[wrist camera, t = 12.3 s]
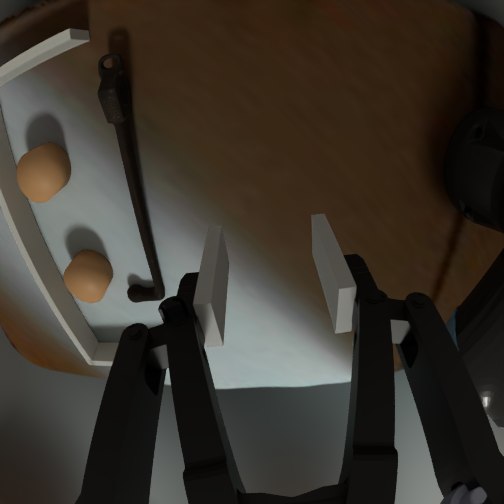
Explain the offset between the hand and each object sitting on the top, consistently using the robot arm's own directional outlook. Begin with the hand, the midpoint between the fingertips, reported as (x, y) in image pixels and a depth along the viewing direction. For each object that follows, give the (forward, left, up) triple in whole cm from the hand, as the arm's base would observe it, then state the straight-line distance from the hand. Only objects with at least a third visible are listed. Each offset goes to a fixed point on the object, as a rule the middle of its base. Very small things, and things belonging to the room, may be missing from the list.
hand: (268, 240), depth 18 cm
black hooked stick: (+15, +1, -15) cm, 21 cm away
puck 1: (+24, -5, -15) cm, 28 cm away
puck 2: (+23, +10, -15) cm, 29 cm away
